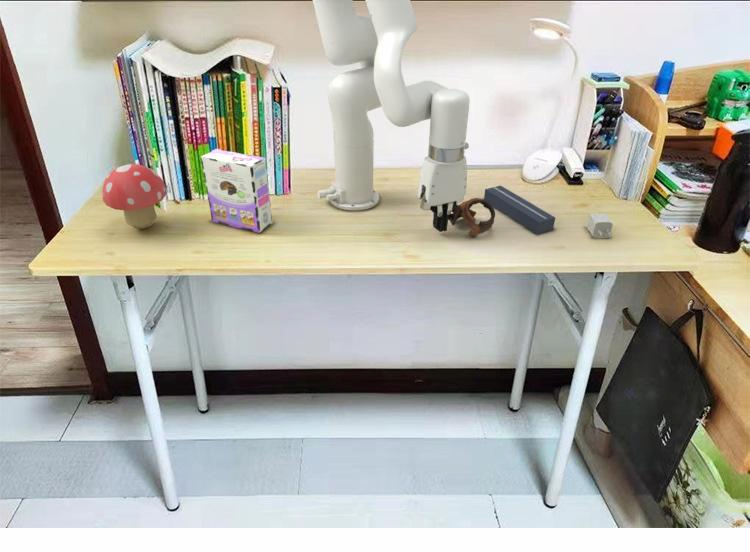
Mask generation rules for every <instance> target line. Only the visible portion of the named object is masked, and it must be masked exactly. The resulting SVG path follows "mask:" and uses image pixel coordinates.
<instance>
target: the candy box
mask: <svg viewBox="0 0 750 552" xmlns="http://www.w3.org/2000/svg"><path fill="white" fill-rule="evenodd" d="M200 161H201V166H202V167H201V168H202V173H203V178H204V183H205V188H206V194H207V201H208V204H209V205H208V206H209V212H210V217H211V222H212V223H217V224H221V225H224V226H229V227H233V228H237V229H241V230H244V231H245V230H246V231H249V232H253V233H257V234H261V232H264V230H265V229H267V228H268V227H270V226H271V225H272V224H273V215H272V214H273V213H272V205H271V196H270V186H269V185H270V184H269V176H268V167H267V159H266V157H262V156H258V155H257V156H256V155H251V154H245V153H241V152H240V153H239V152H235V151H229V150H224V149H220V148H215V149H213V150H211V151H209V152H207V153H205V154H203V155H201V156H200Z"/></svg>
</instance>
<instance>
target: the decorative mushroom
mask: <svg viewBox="0 0 750 552" xmlns="http://www.w3.org/2000/svg"><path fill="white" fill-rule="evenodd" d="M167 192H168V191H167V187H166V184H165V182H164V180H163V179H162V177H161V176H160V175H159V174H158V173H157V172H156V171H154V170H153V169H152V168H150V167H147V166H145V165H142V164H135V163H134V164H133V163H128V164H124V165H121V166H119V167H117V168H115V169H114V170H112V171H111V172H110V173H109V174H108V175H107V177H105V179H104V182H103V185H102V191H101V194H102V196H101V197H102V202H103V203H104V204H105V205H106V206H107V207H109V208H111V209H113V210H118V211H123V215H124V220H125V224H127V225H129V226H130V227H132V228H135V229H139V230H145V229H147V228H149V227H150V226H152V225H153V224H154V223H155V221H156V220H157V218H158V217H157V213H156V209H155V205H158V203H160V202H161V201H163V200H164V199H165V197H166V196H167Z"/></svg>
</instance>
